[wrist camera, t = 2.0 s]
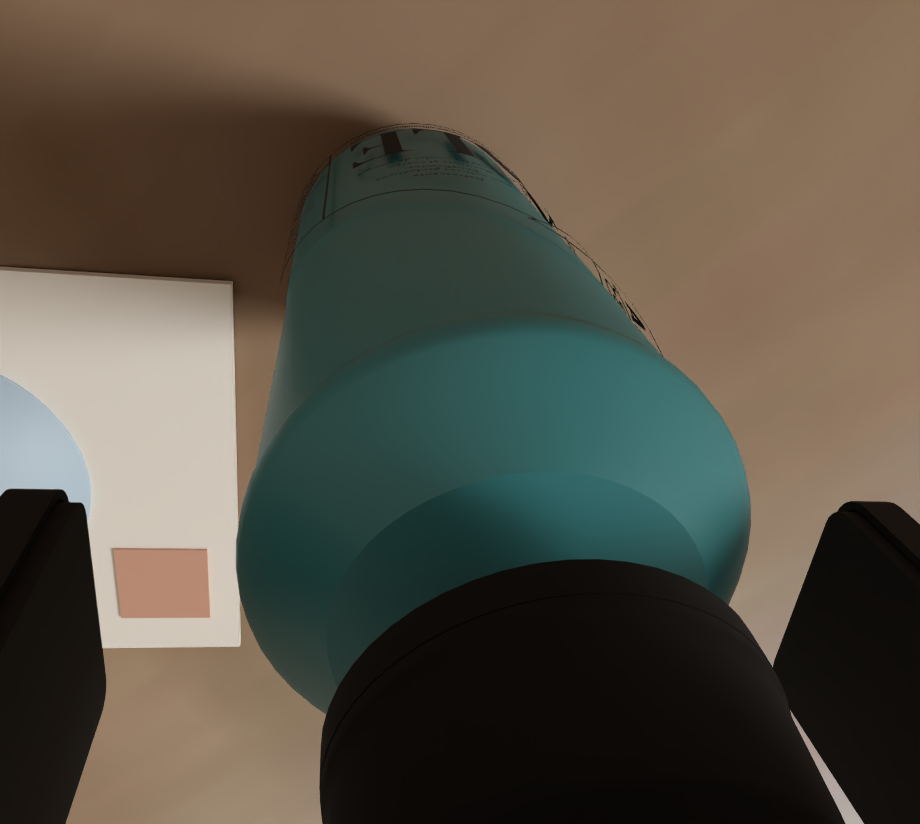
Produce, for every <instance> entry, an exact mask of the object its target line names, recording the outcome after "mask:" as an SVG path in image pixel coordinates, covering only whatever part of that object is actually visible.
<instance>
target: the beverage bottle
mask: <svg viewBox="0 0 920 824" xmlns="http://www.w3.org/2000/svg"><path fill="white" fill-rule="evenodd" d="M410 124H418V123H410ZM396 125H400V124H396ZM426 125H431V124H426ZM391 126H394V125H391ZM434 126H436V125H434ZM386 127H388V126H386ZM404 127H406V126H404ZM407 127H408V126H407ZM409 127H410V126H409ZM412 127H413V126H412ZM414 127H415V126H414ZM416 127H417V125H416ZM419 127H420V126H419ZM421 127H422V126H421ZM423 127H424V126H423ZM439 127H441V126H439ZM381 128H383V127H381ZM395 128H396V127H395ZM397 128H399V127H397ZM400 128H401V126H400ZM402 128H403V126H402ZM426 128H427V127H426ZM428 128H429V126H428ZM431 128H432V127H431ZM433 128H434V127H433ZM435 128H436V127H435ZM444 128H445V127H444ZM378 129H380V128H378ZM390 129H391V128H390ZM393 129H394V127H393ZM437 129H438V128H437ZM439 129H440V128H439ZM448 129H449V128H448ZM375 130H377V129H375ZM386 130H387V129H386ZM388 130H389V128H388ZM440 130H441V129H440ZM442 130H443V129H442ZM444 130H445V129H444ZM451 130H452V129H451ZM372 131H374V130H372ZM381 131H382V130H381ZM383 131H385V129H383ZM445 131H446V130H445ZM454 131H455V130H454ZM369 132H371V131H369ZM379 132H380V131H379ZM451 132H452V131H451ZM457 132H458V131H457ZM366 133H368V132H366ZM377 133H378V132H377ZM453 133H454V132H453ZM455 133H456V132H455ZM460 133H461V132H460ZM364 134H365V133H364ZM372 134H373V133H372ZM374 134H375V132H374ZM457 134H458V133H457ZM362 135H363V134H362ZM370 135H371V134H370ZM461 135H462V134H461ZM360 136H361V135H360ZM366 136H367V135H366ZM368 136H369V134H368ZM462 136H463V135H462ZM358 137H359V136H358ZM459 137H460V136H457V135H454V134H450V133H446V132H441V131H436V130H429V129H416V128H410V129H397V130H392V131H386V132H382V133H379V134H376V135H373V136H370V137H367V138H365V139H363V140H361V141H359V142H357V143H355V144H354V145H352V146H351V147H349V148H348V149H346V150H345V151H343V152H342V153H341V154H340V155H339V156H337V157H336V158H335V159H334V160H333V161H332V162H331V160H332V155H330V156H329V157H330V160H329V165H328V164H327V165H328V166H327V165H326V166H327V168H326V169H325V170H324V171H323V172H322V173H321V175H320V176H319V178H318V179H317V181H316V182H315V183H314V184H313V187H312V188H311V187H310V186H309V187H310V189H311V190H310V193H309V195H307V196H308V197H307V198H306V200H305V199H303V198H301V199H303V200H305V204H304V203H303V200H302V203H303V204H304V205H303V204H302V205H303V206H304V208H303V207H302V206H301V207H302V208H303V211H302V214H301V218H300V220H299V219H298V220H299V222H300V223H299V224H297V225H299V228H298V227H297V228H298V229H297V231H298V234H297V235H296V236H297V238H296V239H297V240H296V239H294V238H295V237H294V236H292V237H294V238H293V239H294V240H296V245H295V249H294V250H293V251H294V256H293V261H292V267H291V272H290V277H289V283H288V291H287V299H286V314H285V319H284V324H283V329H282V334H281V339H280V345H279V350H278V355H277V360H276V365H275V370H274V376H273V381H272V386H271V391H270V396H269V401H268V407H267V412H266V417H265V422H264V427H263V432H262V438H261V443H260V448H259V453H258V458H257V463H256V468H255V470H254V472H253V473H252V476H251V479H250V482H249V485H248V488H247V491H246V494H245V497H244V500H243V504H242V509H241V515H240V521H239V527H238V532H237V538H236V574H237V581H238V589H239V595H240V598H241V602H242V605H243V608H244V611H245V615H246V618H247V621H248V623H249V625H250V628H251V630H252V632H253V634H254V636H255V638H256V640H257V642H258V644H259V646H260V648H261V650H262V651H263V653H264V654H265V656H266V657H267V659H268V660H269V661H270V663H271V664H272V666H273V667H274V669H275V670H276V671H277V672H278V673H279V674H280V675H281V676H282V678H283V679H284V680H285V681H286V682H287V683H288V684H289V685H290V686H291V687H292V688H293V689H294V690H295V691H296V692H297V693H299V694H300V695H301V696H302V697H304V698H305V699H306V700H307V701H308V702H310V703H311V704H312V705H313V706H315V707H316V708H317V709H319V710H321V711H322V712H324V713H325V714H326V718H325V722H324V725H323V730H322V741H321V758H320V804H321V815H322V823H323V824H845V822H844V820H843V818H842V815H841V813H840V811H839V809H838V807H837V805H836V803H835V801H834V799H833V797H832V796H831V794H830V792H829V790H828V788H827V786H826V784H825V782H824V780H823V778H822V776H821V774H820V772H819V770H818V768H817V766H816V764H815V762H814V760H813V758H812V756H811V754H810V752H809V750H808V748H807V746H806V744H805V742H804V740H803V739H802V737H801V735H800V733H799V731H798V729H797V727H796V725H795V723H794V721H793V719H792V716H791V712H790V708H789V703H788V699H787V697H786V694H785V692H784V690H783V688H782V685H781V683H780V681H779V679H778V677H777V675H776V673H775V672H774V669H773V667H772V665H771V664H770V662H769V661H768V659H767V657H766V656H765V654H764V653H763V651H762V649H761V648H760V646H759V645H758V643H757V641H756V640H755V638H754V637H753V635H752V633H751V632H750V631H749V629H748V628H747V626H746V625H745V624H744V622H743V621H742V619H741V618H740V617H739V615H738V614H737V613H736V612H735V611H734V610H733V609H732V608H731V607H729V606H728V605H729V603H730V600H731V598H732V595H733V593H734V591H735V588H736V586H737V584H738V581H739V578H740V575H741V572H742V568H743V565H744V561H745V557H746V554H747V550H748V543H749V535H750V527H751V509H750V495H749V489H748V484H747V479H746V473H745V469H744V465H743V462H742V459H741V456H740V453H739V450H738V448H737V445H736V442H735V440H734V438H733V436H732V434H731V433H730V431H729V429H728V427H727V425H726V424H725V422H724V420H723V418H722V417H721V415H720V414H719V413H718V412H717V410H716V409H715V408H714V407H713V405H712V404H711V403H710V401H709V400H708V399H707V398H706V396H705V395H704V394H703V393H702V391H701V390H700V389H699V388H698V386H697V385H695V384H694V383H693V382H692V381H691V380H690V379H689V378H688V377H687V376H686V375H685V374H683V373H682V372H681V371H680V370H679V369H678V368H677V367H676V366H675V365H673V364H672V363H670V362H669V361H668V360H666V359H665V358H664V357H663V355H661V354H662V353H661V354H660V353H659V352H658V351H657V350H656V348H655V347H654V346H653V345H652V344H651V343H650V342H649V341H648V339H647V338H646V337H645V336H644V335H643V334H642V332H641V331H640V330H639V329H638V328H637V327H636V325H634V324H633V323H632V322H631V319H629V318H630V316H629V314H628V316H629V318H628V316H627V314H626V312H624V311H625V310H623V309H624V308H623V309H622V307H623V306H622V307H620V306H621V305H622V304H621V302H620V301H619V303H620V305H619V303H617V302H618V301H617V302H616V300H617V299H616V300H615V298H616V297H615V295H616V293H615V291H616V290H615V289H616V288H615V289H614V288H612V289H613V291H614V293H615V295H614V294H613V297H614V298H613V297H612V295H610V294H611V293H609V292H610V290H609V292H608V291H607V290H606V289H605V287H604V286H603V283H602V280H601V283H602V284H601V283H600V282H599V280H598V279H597V278H596V277H595V276H594V275H593V273H592V272H591V271H590V270H589V269H588V268H587V267H586V265H585V264H584V263H583V262H582V261H581V260H580V259H579V257H578V256H577V255H576V254H575V250H574V252H573V251H572V249H571V247H570V246H568V245H567V244H566V243H565V242H564V240H563V239H562V238H564V237H563V236H561V235H559V234H558V233H557V232H556V231H555V230H554V229H553V228H552V226H553V225H552V223H554V222H553V220H552V219H551V217H550V215H549V214H548V215H549V218H550V219H549V221H548V220H547V218H546V217H545V215H544V214H543V212H542V211H541V209H540V207H539V206H538V204H537V203H536V202H535V200H534V199H533V198H532V196H531V195H530V194H529V192H528V191H527V190H526V189H525V190H526V191H527V193H528V195H529V197H530V198H531V199H532V201H533V202H534V204H535V205H536V207H537V208H538V210H539V211H540V213H541V214H542V215H541V214H540V213H539V212H538V211H537V210H536V209H535V208H534V206H533V205H532V204H531V202H529V201H528V200H527V197H525V196H526V195H527V194H526V195H525V196H524V195H523V194H522V193H521V192H520V190H519V189H518V188H517V187H516V186H515V185H514V184H513V183H512V181H511V180H512V179H511V178H510V179H511V180H510V179H509V178H508V177H507V176H506V175H505V173H504V172H503V171H502V170H501V169H500V168H499V167H498V166H497V164H496V163H495V162H494V161H492V160H491V159H490V158H489V157H488V156H487V155H486V154H485V153H484V152H482V151H481V150H479V149H478V148H476V147H475V146H473V145H472V144H470V143H468V142H466V141H464V140H462V139H460V138H459ZM356 138H357V137H356ZM363 138H364V136H363ZM461 138H463V137H461ZM470 138H471V137H470ZM354 139H355V138H354ZM361 139H362V137H361ZM464 139H465V138H464ZM472 139H473V138H472ZM352 140H353V139H352ZM359 140H360V138H359ZM467 140H468V139H467ZM474 140H475V139H474ZM350 141H351V140H350ZM357 141H358V139H357ZM469 141H470V140H469ZM476 141H477V140H476ZM355 142H356V140H355ZM471 142H472V141H471ZM347 143H348V142H347ZM347 143H346V144H347ZM353 143H354V141H353ZM473 143H474V142H473ZM479 143H480V142H479ZM351 144H352V142H351ZM474 144H476V143H474ZM344 145H345V144H344ZM344 145H343V146H344ZM476 145H477V146H478V147H479V148H481V149H482V150H483V151H485V152H486V153H487V154H488V155H490V156H491V157H492V158H493V159H494V160H495V161H496V162H498V163H499V164H500V165H501V166H502V167H503V168H504V169H505V170H507V171H508V172H509V173H510V174H511V175H512V176H513V177H514V178H515V179H517V180H518V181H519V182H521V181H520V180H519V178H518V177H517V176H516V175H515V174H514V173H513V174H514V175H515V176H516V177H517V178H516V177H515V176H514V175H513V174H512V173H511V172H512V171H511V170H510V169H509V170H510V171H511V172H510V171H509V170H508V169H507V168H506V167H505V166H504V165H503V163H502V162H500V161H499V160H498V159H496V158H495V157H494V156H493V155H492V154H491V152H489V151H488V150H486V149H487V148H486V147H485V148H486V149H485V148H483V147H482V146H483V144H482V146H480V145H478V144H476ZM341 147H342V146H341ZM341 147H340V148H341ZM338 149H339V148H338ZM338 149H337V150H338ZM337 150H336V151H337ZM329 157H328V158H329ZM328 158H327V159H328ZM498 158H499V157H498ZM327 159H326V160H327ZM324 162H325V161H324ZM324 162H323V163H324ZM326 166H325V167H326ZM325 167H324V168H325ZM324 168H323V169H324ZM318 169H319V168H318ZM318 169H317V170H318ZM314 174H315V173H314ZM316 174H317V173H316ZM316 174H315V175H316ZM319 174H320V173H319ZM319 174H318V175H319ZM315 175H314V177H315ZM318 175H317V176H318ZM312 177H313V176H312ZM310 180H311V179H310ZM313 181H314V180H313ZM513 181H514V180H513ZM310 182H312V181H310ZM514 182H515V181H514ZM308 183H309V182H308ZM311 184H312V183H311ZM521 184H522V182H521ZM309 185H310V183H309ZM306 186H307V185H306ZM520 186H522V185H520ZM523 187H524V186H523ZM305 188H306V187H305ZM307 188H308V187H307ZM521 188H522V187H521ZM524 188H525V187H524ZM524 188H523V189H524ZM523 189H522V190H523ZM304 190H305V191H306V189H304ZM307 190H308V189H307ZM305 191H303V192H305ZM308 191H309V190H308ZM523 192H524V191H523ZM305 193H306V192H305ZM307 194H308V193H307ZM524 194H525V193H524ZM303 195H304V193H303ZM305 197H306V196H305ZM300 205H301V204H300ZM299 207H300V206H299ZM302 208H301V209H302ZM299 210H300V208H299ZM299 210H298V211H299ZM545 210H546V209H545ZM300 211H301V210H300ZM300 211H299V212H300ZM547 213H548V212H547ZM298 214H299V213H298ZM296 215H297V214H296ZM296 215H295V216H296ZM297 216H299V215H297ZM542 216H543V217H542ZM296 218H297V217H296ZM294 219H295V218H294ZM295 220H296V219H295ZM293 222H294V221H293ZM297 222H298V221H297ZM554 225H555V224H554ZM293 226H294V225H293ZM295 227H296V226H295ZM553 227H556V226H553ZM294 229H295V228H294ZM556 229H558V228H557V227H556ZM559 230H560V229H559ZM295 231H296V230H295ZM295 231H294V232H295ZM561 231H562V230H561ZM562 232H563V231H562ZM292 233H293V232H292ZM292 233H291V234H292ZM564 233H565V232H564ZM291 234H290V237H291ZM566 234H567V233H566ZM294 235H295V234H294ZM567 235H568V234H567ZM560 236H561V237H562V238H561V237H560ZM569 236H570V235H569ZM570 237H571V236H570ZM565 238H566V237H565ZM565 238H564V239H565ZM291 239H292V238H291ZM293 239H292V240H293ZM289 240H290V239H289ZM565 240H566V239H565ZM567 241H568V240H567ZM293 242H294V241H293ZM568 242H569V241H568ZM569 243H570V242H569ZM569 243H568V244H569ZM290 244H291V243H290ZM292 244H293V243H292ZM571 244H572V243H571ZM578 244H579V243H578ZM288 245H289V243H288ZM569 245H570V244H569ZM572 245H573V244H572ZM579 245H580V244H579ZM573 246H574V245H573ZM573 246H572V247H573ZM580 246H581V245H580ZM575 247H576V246H575ZM291 248H292V247H291ZM291 248H290V249H291ZM576 248H577V247H576ZM287 249H289V248H287ZM573 249H574V248H573ZM577 249H578V248H577ZM583 249H584V248H583ZM578 250H580V249H578ZM289 251H290V250H289ZM580 251H581V250H580ZM581 252H582V251H581ZM292 253H293V252H292ZM292 253H291V254H292ZM582 253H583V252H582ZM586 253H587V252H586ZM286 254H287V253H286ZM288 254H289V253H288ZM584 254H585V253H584ZM585 255H586V254H585ZM290 256H291V255H290ZM586 256H587V255H586ZM289 258H290V257H289ZM285 259H286V258H285ZM590 259H591V257H590ZM288 260H289V259H288ZM591 260H592V259H591ZM592 261H593V260H592ZM287 263H288V262H287ZM593 263H595V262H594V261H593ZM284 264H285V262H284ZM595 264H596V263H595ZM595 264H594V265H595ZM286 265H287V264H286ZM596 265H597V264H596ZM597 266H598V265H597ZM285 267H286V266H285ZM595 267H596V266H595ZM598 267H599V266H598ZM283 268H284V267H283ZM599 268H600V267H599ZM284 269H285V268H284ZM596 269H597V268H596ZM600 269H601V268H600ZM601 270H602V269H601ZM597 271H598V270H597ZM602 271H603V270H602ZM283 272H284V271H283ZM283 272H282V273H283ZM603 272H604V271H603ZM598 273H599V272H598ZM599 276H600V273H599ZM281 279H282V276H281ZM600 279H601V276H600ZM605 281H606V284H607V282H608V281H607V280H606V279H605ZM280 282H281V281H280ZM614 283H615V282H614ZM610 286H611V285H610ZM613 286H614V284H613ZM607 287H608V284H607ZM614 287H615V286H614ZM608 289H609V288H608ZM619 289H620V288H619ZM617 291H618V290H617ZM618 293H619V292H618ZM618 293H617V294H618ZM618 295H619V294H618ZM624 295H625V294H624ZM620 298H621V297H620ZM621 300H622V299H621ZM629 301H630V300H629ZM622 302H623V301H622ZM625 303H626V302H625ZM623 304H624V303H623ZM626 305H627V307H628V308H629V309H630V311H631V314H632V313H633V314H634V316H635V317H636V318H637V320H638V321H637V320H636V319H635V318H634V316H633V314H632V315H631V317H632V319H633V321H635V322H636V323H637V324H638V325H639V326H640V327H642V328H643V329H644V330H645V328H644V325H643V324H642V323H641V321H640V320H639V319H638V317H637V316H636V315H635V313H634V312H633V311H632V309H631V308H630V307H629V306H628V304H627V303H626ZM632 305H633V304H632ZM624 306H625V305H624ZM634 308H635V307H634ZM625 309H626V307H625ZM626 311H627V309H626ZM636 311H637V310H636ZM627 313H628V312H627ZM638 314H639V313H638ZM640 317H641V316H640ZM642 320H643V319H642ZM644 323H645V322H644ZM646 326H647V325H646ZM648 329H649V328H648ZM645 331H646V330H645ZM649 331H650V330H649ZM650 333H651V332H650ZM651 335H652V334H651ZM652 337H653V336H652ZM653 339H654V338H653ZM654 341H655V340H654ZM655 343H656V342H655ZM656 344H657V343H656ZM657 346H658V345H657ZM658 348H659V347H658ZM659 350H660V349H659ZM660 352H661V351H660Z"/></svg>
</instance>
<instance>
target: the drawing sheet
mask: <svg viewBox="0 0 920 824" xmlns="http://www.w3.org/2000/svg"><path fill="white" fill-rule="evenodd" d="M7 489H62V490H64V491H65V492H66V494H67V496H68V500H69V502H81V503H82V504H83V505H84V507H85V510H86V515H87V524H88V532H89V540H90V549H91V557H92V565H93V574H94V582H95V590H96V599H97V607H98V615H99V624H100V632H101V640H102V648H155V647H240V643H241V626H240V595H239V589H238V581H237V574H236V538H237V532H238V494H237V450H236V406H235V361H234V317H233V281H222V280H206V279H190V278H174V277H159V276H143V275H127V274H111V273H95V272H79V271H63V270H47V269H31V268H15V267H0V496H1V495H2V493H3V492H4V491H5V490H7Z"/></svg>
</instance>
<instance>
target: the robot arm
mask: <svg viewBox="0 0 920 824" xmlns="http://www.w3.org/2000/svg"><path fill="white" fill-rule="evenodd" d="M773 669H774V672H775V673H776V675H777V677H778V679H779V681H780V683H781V685H782V688H783V690H784V692H785V694H786V697H787V699H788V703H789V708H790V710H791V712H792V713H793V715H794V716H795V718H796V719H797V721H798V722H799V724H800V725H801V727H802V729H803V730H804V732H805V733H806V735H807V736H808V738H809V739H810V741H811V742H812V744H813V745H814V747H815V749H816V750H817V752H818V753H819V755H820V756H821V758H822V759H823V761H824V762H825V764H826V766H827V767H828V769H829V770H830V772H831V773H832V775H833V776H834V778H835V779H836V781H837V783H838V784H839V786H840V787H841V789H842V790H843V792H844V793H845V795H846V796H847V798H848V799H849V801H850V803H851V804H852V806H853V807H854V809H855V810H856V812H857V813H858V815H859V816H860V818H861V820H862V821H863V823H864V824H920V524H919V523H917V522H916V521H915V520H914V519H913V518H912V517H911V516H910V515H908V514H907V513H906V512H905V511H904V510H903V509H902V508H901V507H899V506H897V505H896V504H894V503H891V502H866V501H850V502H847V503H845V504H843V505H842V506H841V507H840V508H839V510H838V512H836V513H833V514H832V515H831V516H830V517H829V518H828V520H827V522H826V524H825V527H824V530H823V532H822V535H821V538H820V540H819V543H818V546H817V548H816V551H815V554H814V556H813V559H812V562H811V564H810V567H809V570H808V572H807V575H806V578H805V580H804V583H803V586H802V588H801V591H800V594H799V596H798V599H797V602H796V604H795V607H794V610H793V613H792V615H791V618H790V621H789V623H788V626H787V629H786V631H785V634H784V637H783V639H782V642H781V645H780V647H779V650H778V653H777V655H776V658H775V661H774V665H773ZM105 694H106V674H105V665H104V657H103V649H102V640H101V632H100V624H99V615H98V607H97V599H96V590H95V582H94V574H93V565H92V557H91V549H90V540H89V532H88V524H87V515H86V510H85V507H84V505H83V504H82V503H81V502H69V500H68V496H67V494H66V492H65V491H64V490H62V489H7V490H5V491H4V492H3V493H2V495H1V496H0V824H65V823H66V820H67V817H68V814H69V811H70V808H71V805H72V802H73V799H74V796H75V793H76V790H77V787H78V784H79V781H80V778H81V774H82V771H83V768H84V765H85V762H86V759H87V756H88V753H89V750H90V747H91V744H92V741H93V738H94V735H95V732H96V729H97V726H98V723H99V720H100V717H101V714H102V710H103V706H104V701H105Z"/></svg>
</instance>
